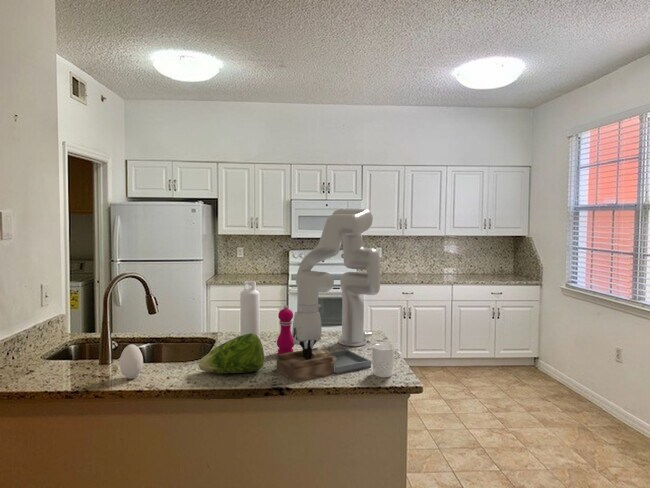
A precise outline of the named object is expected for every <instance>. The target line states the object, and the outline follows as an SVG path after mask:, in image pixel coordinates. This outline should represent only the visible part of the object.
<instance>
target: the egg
mask: <svg viewBox="0 0 650 488" xmlns="http://www.w3.org/2000/svg"><path fill="white" fill-rule="evenodd" d="M143 366H144V357H143V353H142V352H141V350H140V348H139V346H137V345H135V344H133V343H132V344H128V345H127V346H125V347H124V349H123V351H122V352H121V355H120V358H119V370H120V372H121V374H122V375H123V376H124V377H125V378H126V379H129V380H131V379H132V380H133V379H135V378H137V377H138V376H139V375H140V373H141V372H142V369H143Z"/></svg>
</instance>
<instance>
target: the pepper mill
mask: <svg viewBox="0 0 650 488" xmlns="http://www.w3.org/2000/svg"><path fill="white" fill-rule="evenodd" d="M278 319H279V325H280V331H279V335H278V337H277V339H276V346H277V347H278V349H277V355H278V354H284V353H290V352H294V348H293V347H294V346H295V344H294V343H293V341H294V338H293V337H292V331H291V329H292V328H291V327H292V326H293V319H294V313H293V311H292V310H291V309H289V306H288V305H284V306H283V308H282V309H280V310H279V312H278Z"/></svg>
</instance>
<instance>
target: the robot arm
mask: <svg viewBox="0 0 650 488" xmlns="http://www.w3.org/2000/svg"><path fill="white" fill-rule="evenodd" d="M373 219H374V217H373V214H372V212H371V211H370V210H369V209H365V208H341V209H336V210H334V211H333V212H332V214H330V215H329V216H328V217H327V219H326V220H325V223H324V227H323V229H322V233H321V236H320V238H319V241H318V244H317V245H316V247H314V248H313V249H311V251H309V252H308V253H307V254H306V255H305V256H304V258H302V260H301V262H300V264H299V267H298V270H297V272H296V275H295V276H296V277H295V284H296V287H297V291H296V292H297V293H296V294H297V295H296V296H297V302H296V303H297V305H296V309H297V311H295V312H294V314H293V319H292V328H291V329H292V331H291V334H292V337H293V338H294V341H293V343H294V345H297V346H300V347H301V349H302V350H303V354H302V355H303V358H304V359H306V360H308V359H311V356H312V349H314V345H316V343H318V342H321V340H322V333H323V331H322V330H323V329H322V328H323V327H322V319H321V318H322V317H321V313H320V311H319V308H320V309H321V308H322V305H321V303H319V293H327V292H330V291H331V290H332V289H333V288H334V284H335V279H334V277H333V275H332V274H331V273H329V272H326V271H317V270H312V269H313V268H314V267H315V266H316V265H317V264H318V263H321V262H323V261H325V260H327V259H330V258H333V257H336V256H337V255H338V254H339V252H340V250H341V245H342V247H343V249H342V250H343V251H342V253H343V264H344V266H345V268H347V269H351V270H361V271H366V272H361V271H346V272H344V273H343V274H342V275H341V277H340V280H339V281H340V289H341V298H342V299H341V300H342V301H341V302H342V306H341V307H342V312H341V315H342V316H341V337H340V338H338V341H337V342H338V343H339V345H343V346H347V347H361V346H365V345H367V343H368V342H367V341H368V340H367V339H366V338H369V337H372V336H373V332H372V331H371V332H367V331H364V327H365V326H364V322H365V320H364V317H365V316H364V315H365V313H364V312H365V304H364V300H363V298H362V297H361V295H363V296H364V295H366V296H375V295H378V293H379V291H380V289H381V288H380V287H381V257H380V253H379V252H378V250H377V249H375V248H373V247H372V248H371V247H364V246H363V245H364V243H363V239H364V238H363V235H362V234H363V233H364V232H366V231H368V230H369V229H371V226H372V225H373Z"/></svg>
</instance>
